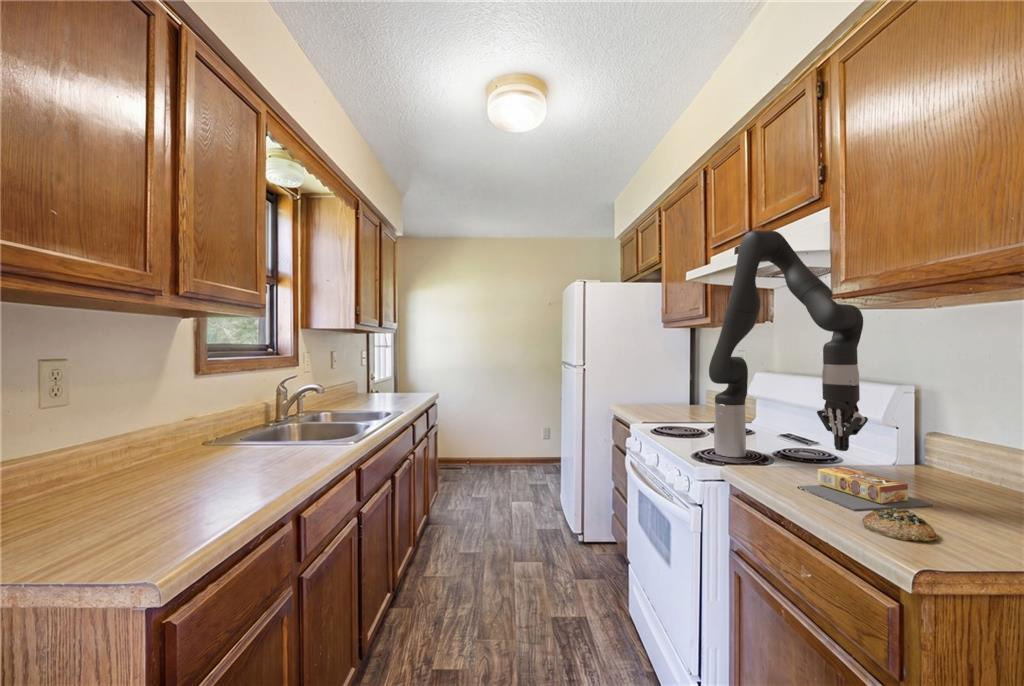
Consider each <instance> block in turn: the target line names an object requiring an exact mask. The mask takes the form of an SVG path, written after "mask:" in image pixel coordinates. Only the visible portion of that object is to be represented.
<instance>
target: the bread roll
mask: <svg viewBox="0 0 1024 686" xmlns="http://www.w3.org/2000/svg"><path fill="white" fill-rule="evenodd" d="M861 521H862V524H863V526H864V528H865V529H867V530H868V531H870V532H873V533H874V534H877V535H881V536H883V537H888V538H892V539H898V540H900V539H901V541H906V540H915V541H914V542H917V541H921V542H925V541H928V542H929V541H930V542H933V541H935V540H937V539H938V537H937V535H936V532H935V529H934V528H933V527H932V526H931V524H929V523H928V521H926V520H924V519H923V518H921V517H918V516H917V515H916V513H915V512H910V511H909V510H908V509H904V510H899V508H893V509H877V510H872V511H871V512H869V513H867V514H865V515H864V516H863V518H862V520H861Z"/></svg>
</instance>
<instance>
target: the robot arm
mask: <svg viewBox="0 0 1024 686" xmlns="http://www.w3.org/2000/svg"><path fill="white" fill-rule="evenodd" d="M737 252H738V253H737V259H736V267H735V272H734V278H733V283H732V287H731V292H730V295H729V299H728V301H727V302H728V303H727V307H726V310H725V314H724V319H723V323H722V327H721V330H720V334H719V337H718V340H717V343H716V346H715V348H714V350H713V354H712V355H711V359H710V363H709V366H708V367H709V368H708V377H709V379H710V380H711V382H713V383H714V384H717V385H719V384H720V385H722V384H723V385H727V387H726V388H725V390H723V391H721V392H719V393H717V394H715V396H714V408H715V409H714V419H715V421H714V422H715V424H714V425H713V429H714V430H713V434H714V435H713V437H714V439H713V440H714V445H713V447H714V452H715V454H716V455H719V456H723V457H728V458H745V457H746V456H747V441H746V439H747V433H746V431H747V429H746V425H747V424H746V399H747V396H748V382H749V380H748V379H749V378H748V377H749V372H748V371H749V369H748V364H747V362H746V360H745V359H744V358H743V357H741V356H732V355H733V352H734V350H735V349H736V347H737V346H738V344H739V343H740V342H741V341H742V340H743V339H744V338H745V337H746V336H747V335H748V334H749V333H750V332H751V331H752V330H753V328H754V327H755V325H756V323H757V319H758V315H759V313H760V311H761V297H760V294H759V291H758V286H757V284H756V279H757V277H756V276H757V273H758V268H759V265H760V263H763V262H764V263H766V262H769V263H771V264H773V265H774V266H775V267H777V268H778V269H779V270H780V271H781V272H782V274H783V276H784V280H785V283H786V286H787V288H788V290H789V291H790V293H791V294H792V295H793V296H794V297H795V298H796V299H798V301H799V302H800V303H801V304H802V305H803V306H805V309H806V310H807V312H808V314H809V316H810V317H811V319H812V321H813V322H814V323H815V324H816V325H817V326H818V327H819V328H820V329H822V330H824V331H827V332H831V333H832V336H831V340H830V341H828V342H826V343H824V345H823V347H822V359H823V361H822V362H823V363H822V374H821V376H822V377H821V379H822V381H821V382H822V385H821V386H822V399H823V401H825V403H824V406H823V407H824V408H822V410H821V409H819V410H817V411H816V414H817V415H818V418H819V419H820V421H821V422H822V425H824V428H825V429H826V431H828V432H831V433H832V434H833V439H834V441H833V445H834V447H835V450H836V451H838V452H839V451H840V452H847V451H848V450H850V449H849V448H850V436H856V435H858V433H859V432H860V431H862V428H863V427H864V426H865V425H866V424H867V422H868V421H869V419H868V417H867V416H863V415H862V414H860V412H859V411H860V409H859V407H858V402H860V400H861V399H860V393H861V392H860V373H859V365H858V346H859V343H860V340H861V335H862V333H863V327H864V316H863V313H862V310H860V308H858V306H855V305H853V304H843V303H842V304H841V303H840V304H838V303H837V302H836V301H835V300H834V299H833V293H834V292H833V291H832V290H831V288H830V287H829V286H828V284H826V283H825V282H823V280H822V279H820V278H819V277H818V276H817V275H816V274H815V273H813V271H811V270H810V269H809V268H808V267H807V265H806V264H805V263H804V262H803V261H802V260H801V258H800V257H799V255H798V254H797V253H796V251H795V250H794V249H793V248H792V246H791V245H790V243H788V241H787V240H786V238H785V237H784V235H783V234H781V233H780V232H778V231H776V230H751V231H748V232H746V234H745V235H744V236H742V238H741V241H740V243H739V247H738V251H737Z"/></svg>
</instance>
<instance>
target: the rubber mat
mask: <svg viewBox="0 0 1024 686" xmlns="http://www.w3.org/2000/svg"><path fill="white" fill-rule="evenodd" d="M798 487H800V488H802V489H805V490H807V491H809V492H811V493H814V494H816V495H818V496H817V497H819V496H820V497H819V498H821V497H823V498H822V499H824V498H825V499H824V500H826V499H827V501H828V500H829V502H831V501H832V502H831V503H833V502H834V504H836V505H838V504H839V505H838V506H841V507H843V508H847V509H848V510H851V511H853V512H856V511H859V512H860V511H874V510H888V509H894V508H895V509H905V508H909V509H910V508H923V507H922V506H926V507H933V503H930V502H927V501H924V500H920V499H917V498H914V497H911V496H909V495H908V500H907V501H899V502H891V503H884V504H879V503H877V502H873V501H870V500H867V499H864V498H861V497H858V496H854V495H851V494H848V493H845V492H842V491H839V490H836V489H832V488H829V487H826V486H823V485H820V484H816V485H800V486H797V488H798ZM809 492H808V493H809ZM811 493H810V494H811ZM814 494H813V495H814ZM816 495H815V496H816Z"/></svg>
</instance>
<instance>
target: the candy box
mask: <svg viewBox="0 0 1024 686" xmlns="http://www.w3.org/2000/svg"><path fill="white" fill-rule="evenodd" d="M817 485H823V486H826V487H829V488H832V489H836V490H839V491H842V492H845V493H848V494H851V495H854V496H858V497H861V498H864V499H867V500H870V501H873V502H877V503H879V504H884V503H891V502H899V501H907V500H908V496H909V487H908V486H909V484H908V483H905V482H902V481H899V480H895V479H891V478H887V477H883V476H879V475H875V474H871V473H867V472H865V471H859V470H856V469H852V468H847V467H843V466H840V467H828V468H827V467H826V468H818V469H817Z"/></svg>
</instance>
